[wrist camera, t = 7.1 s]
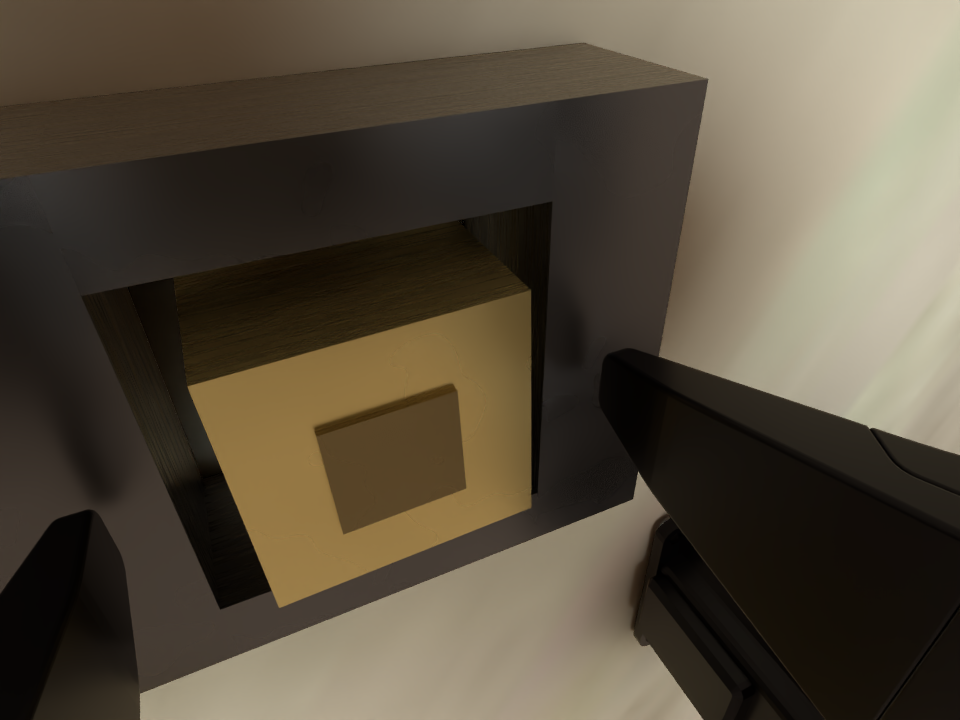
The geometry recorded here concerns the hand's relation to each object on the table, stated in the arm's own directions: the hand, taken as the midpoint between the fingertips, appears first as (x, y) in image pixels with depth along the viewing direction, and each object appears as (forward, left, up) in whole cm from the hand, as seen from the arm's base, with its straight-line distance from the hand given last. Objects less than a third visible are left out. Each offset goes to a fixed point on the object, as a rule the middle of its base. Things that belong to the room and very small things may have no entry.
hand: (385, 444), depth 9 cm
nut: (0, 0, -4) cm, 4 cm away
